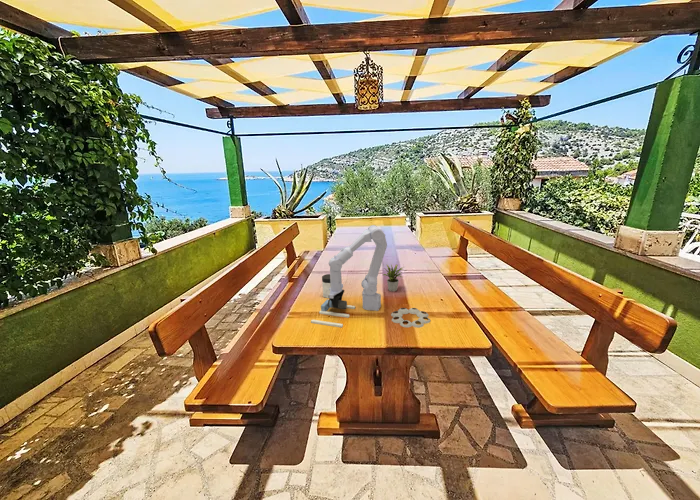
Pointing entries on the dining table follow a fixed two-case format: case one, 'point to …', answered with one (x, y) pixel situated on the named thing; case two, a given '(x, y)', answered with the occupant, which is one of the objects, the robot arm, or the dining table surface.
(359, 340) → the dining table surface
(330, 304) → the banded tin can
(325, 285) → the jar
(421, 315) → the paint palette
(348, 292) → the dining table surface
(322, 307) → the cream cylinder cradle
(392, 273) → the house plant
